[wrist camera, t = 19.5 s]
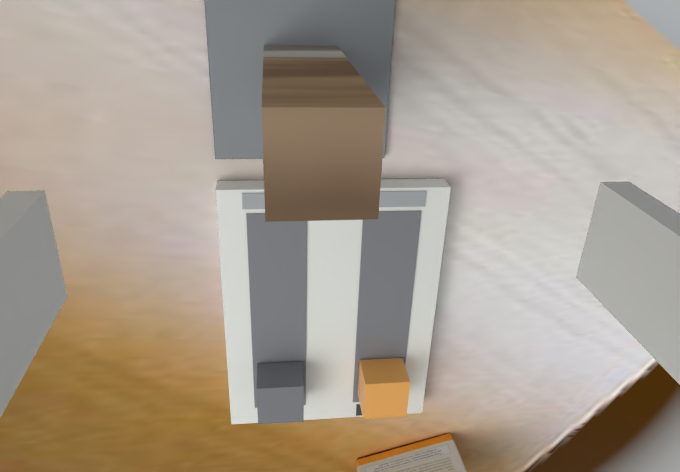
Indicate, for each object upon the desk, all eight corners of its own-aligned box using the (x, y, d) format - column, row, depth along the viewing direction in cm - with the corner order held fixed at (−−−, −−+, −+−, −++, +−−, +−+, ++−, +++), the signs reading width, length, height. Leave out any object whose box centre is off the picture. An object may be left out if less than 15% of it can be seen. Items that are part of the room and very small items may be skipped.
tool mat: (204, -10, 29) (203, -10, 29) (394, -5, 30) (395, -4, 30) (215, 156, 33) (215, 158, 33) (383, 155, 34) (384, 158, 34)
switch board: (217, 180, 34) (215, 190, 32) (444, 178, 36) (451, 187, 34) (232, 409, 42) (231, 425, 40) (417, 398, 43) (422, 413, 42)
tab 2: (359, 359, 39) (365, 384, 37) (402, 357, 39) (410, 381, 37) (357, 393, 40) (362, 419, 38) (398, 391, 41) (406, 416, 38)
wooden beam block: (263, 45, 30) (261, 107, 18) (337, 46, 31) (385, 107, 18) (265, 118, 32) (265, 221, 20) (335, 118, 33) (378, 219, 20)
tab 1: (257, 363, 38) (256, 388, 36) (301, 361, 38) (303, 386, 36) (258, 397, 39) (258, 424, 37) (301, 395, 40) (303, 421, 38)
